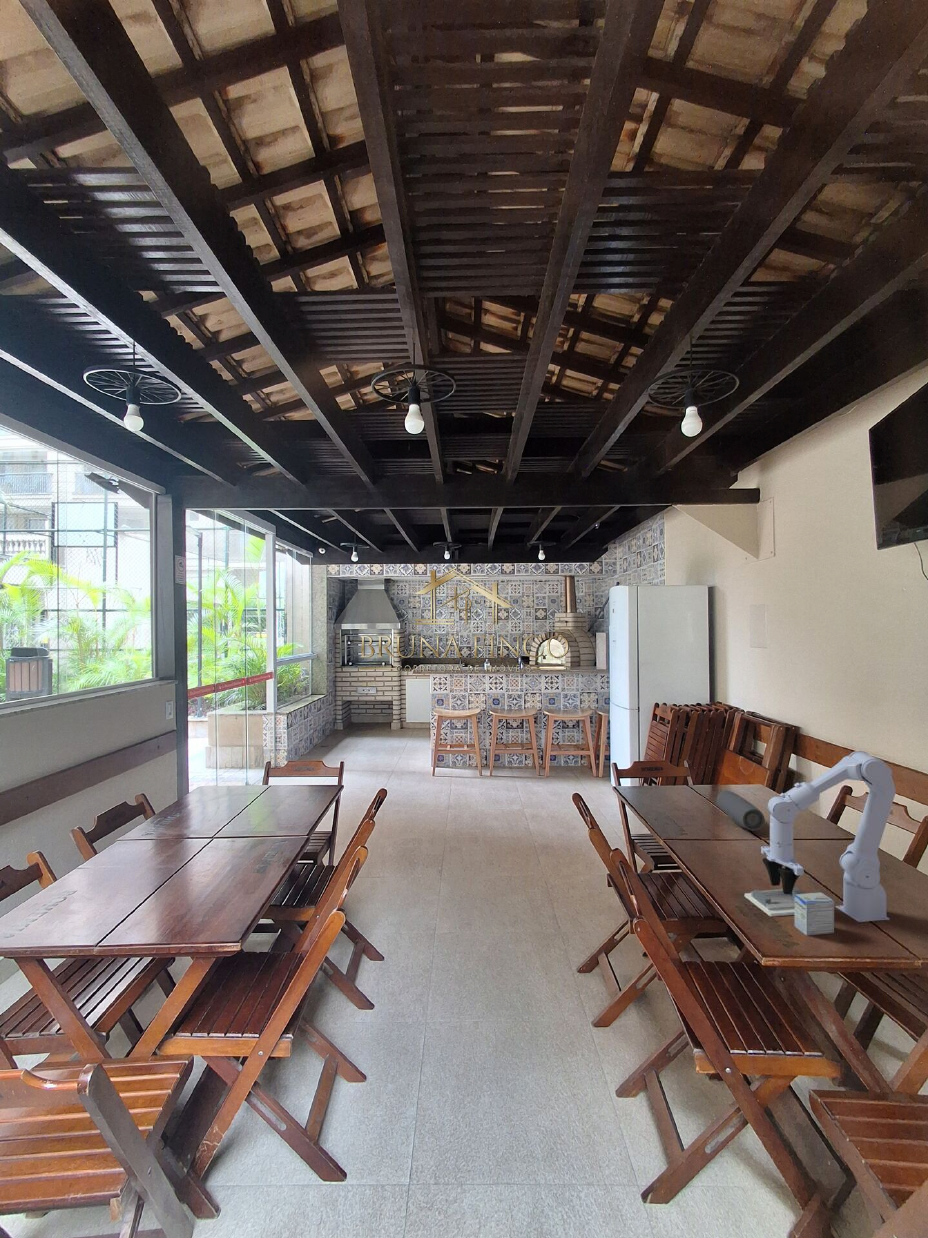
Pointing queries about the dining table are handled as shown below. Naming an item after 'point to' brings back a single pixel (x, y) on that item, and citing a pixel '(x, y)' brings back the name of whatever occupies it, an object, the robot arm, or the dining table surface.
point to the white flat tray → (774, 901)
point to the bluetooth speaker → (740, 810)
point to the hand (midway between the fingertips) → (781, 889)
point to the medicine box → (814, 913)
